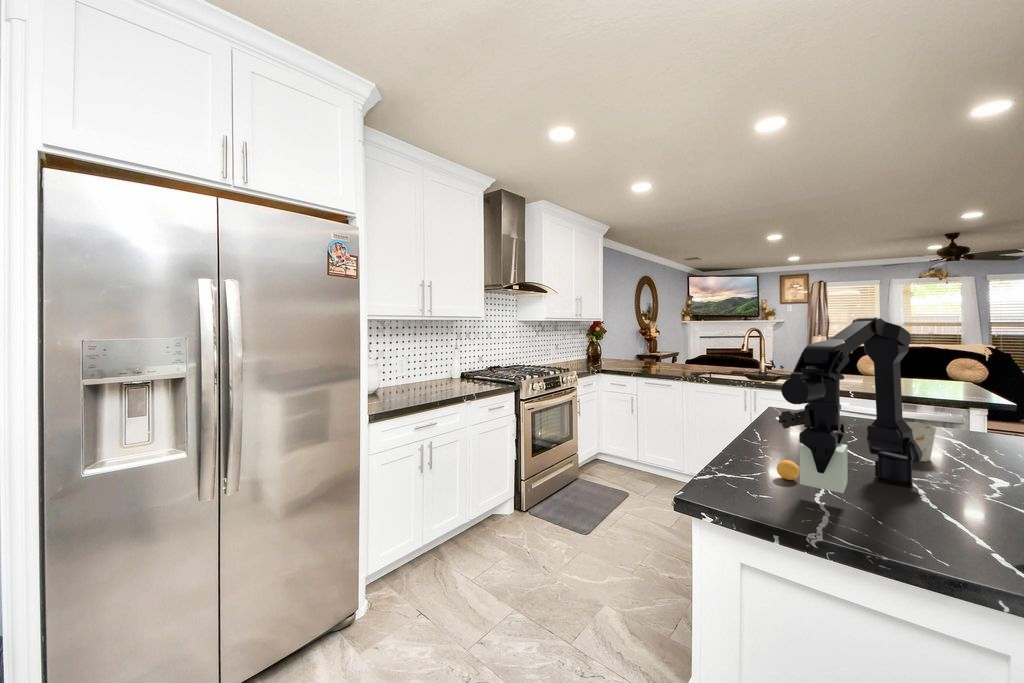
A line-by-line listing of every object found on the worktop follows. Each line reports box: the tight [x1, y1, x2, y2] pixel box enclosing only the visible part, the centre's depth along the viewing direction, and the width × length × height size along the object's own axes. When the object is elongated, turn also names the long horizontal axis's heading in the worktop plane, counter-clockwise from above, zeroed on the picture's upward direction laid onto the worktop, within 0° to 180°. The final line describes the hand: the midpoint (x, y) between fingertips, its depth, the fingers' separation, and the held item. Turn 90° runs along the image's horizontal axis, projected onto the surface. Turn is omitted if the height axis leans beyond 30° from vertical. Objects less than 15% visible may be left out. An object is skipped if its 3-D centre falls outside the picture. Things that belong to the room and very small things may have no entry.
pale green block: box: [799, 443, 849, 494], centre depth 91 cm, size 8×8×9 cm
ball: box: [776, 459, 800, 481], centre depth 106 cm, size 5×5×5 cm
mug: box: [905, 421, 937, 462], centre depth 119 cm, size 8×13×10 cm, turn 78°
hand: (823, 468), depth 91 cm, fingers closed on pale green block, 8 cm apart
